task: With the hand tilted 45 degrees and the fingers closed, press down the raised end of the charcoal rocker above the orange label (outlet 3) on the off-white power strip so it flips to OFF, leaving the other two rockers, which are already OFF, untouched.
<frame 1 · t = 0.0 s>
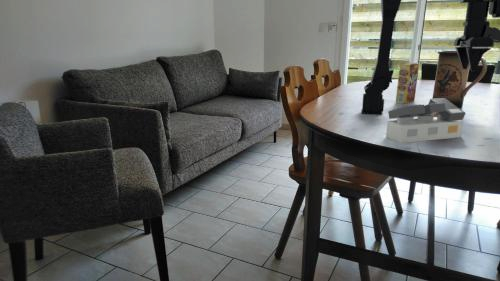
hand: (468, 70, 116), 15 cm above the table, tool pointing down, fingers open, 9 cm apart
rocker 3: (446, 108, 94), point 7 cm above the table, hinge at 20.0°
candy box: (405, 102, 146), on the table
rocker 1: (406, 111, 91), point 7 cm above the table, hinge at -20.0°
rocker 2: (426, 110, 93), point 7 cm above the table, hinge at -20.0°
power strip: (423, 137, 95), on the table
polyhedron: (446, 120, 114), on the table
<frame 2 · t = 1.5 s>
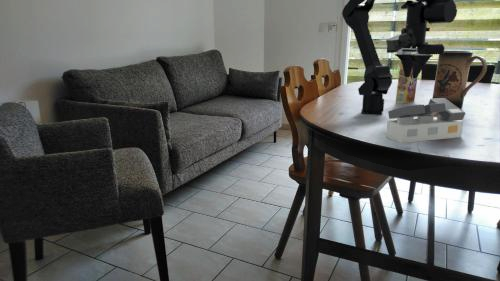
hand: (410, 77, 112), 13 cm above the table, tool pointing down, fingers open, 3 cm apart
nothing on the table moved.
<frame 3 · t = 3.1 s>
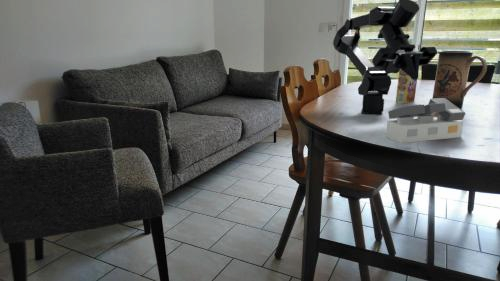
hand: (416, 79, 104), 13 cm above the table, tool tilted 45°, fingers closed
nothing on the table moved.
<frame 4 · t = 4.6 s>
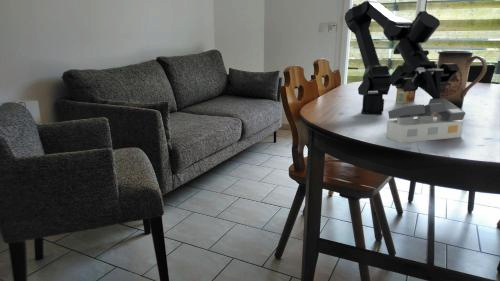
hand: (437, 98, 97), 9 cm above the table, tool tilted 45°, fingers closed, pressing on rocker 3
rocker 3: (446, 108, 94), point 7 cm above the table, hinge at 19.3°, touching gripper
everything else where it was.
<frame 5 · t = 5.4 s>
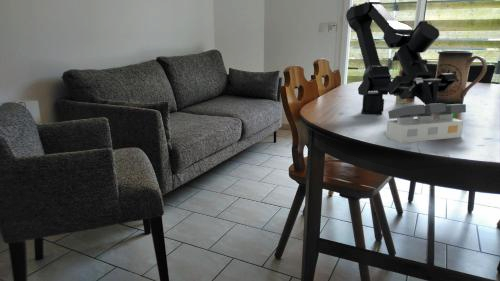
hand: (433, 109, 99), 6 cm above the table, tool tilted 40°, fingers closed, pressing on rocker 3
rocker 3: (446, 108, 94), point 7 cm above the table, hinge at -11.0°, touching gripper
everything else where it was.
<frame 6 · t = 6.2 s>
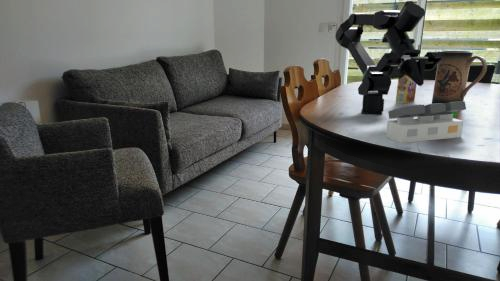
hand: (421, 85, 102), 12 cm above the table, tool tilted 45°, fingers closed
rocker 3: (446, 108, 94), point 7 cm above the table, hinge at -21.7°
everything else where it was.
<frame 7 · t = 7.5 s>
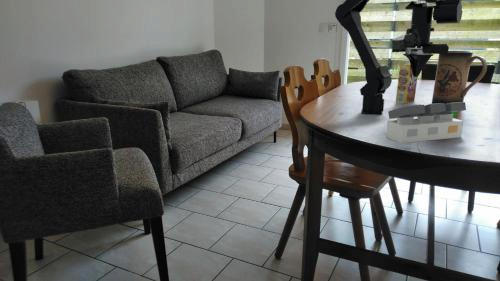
hand: (415, 76, 115), 13 cm above the table, tool pointing down, fingers closed
rocker 3: (446, 108, 94), point 7 cm above the table, hinge at -18.9°
everything else where it was.
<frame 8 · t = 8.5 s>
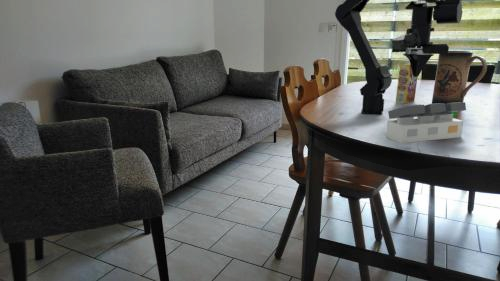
hand: (415, 76, 115), 13 cm above the table, tool pointing down, fingers closed
rocker 3: (446, 108, 94), point 7 cm above the table, hinge at -18.5°
everything else where it was.
at the end: rocker 3 at -18° (first picture: +20°); rocker 2 at -20° (first picture: -20°); rocker 1 at -20° (first picture: -20°) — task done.
